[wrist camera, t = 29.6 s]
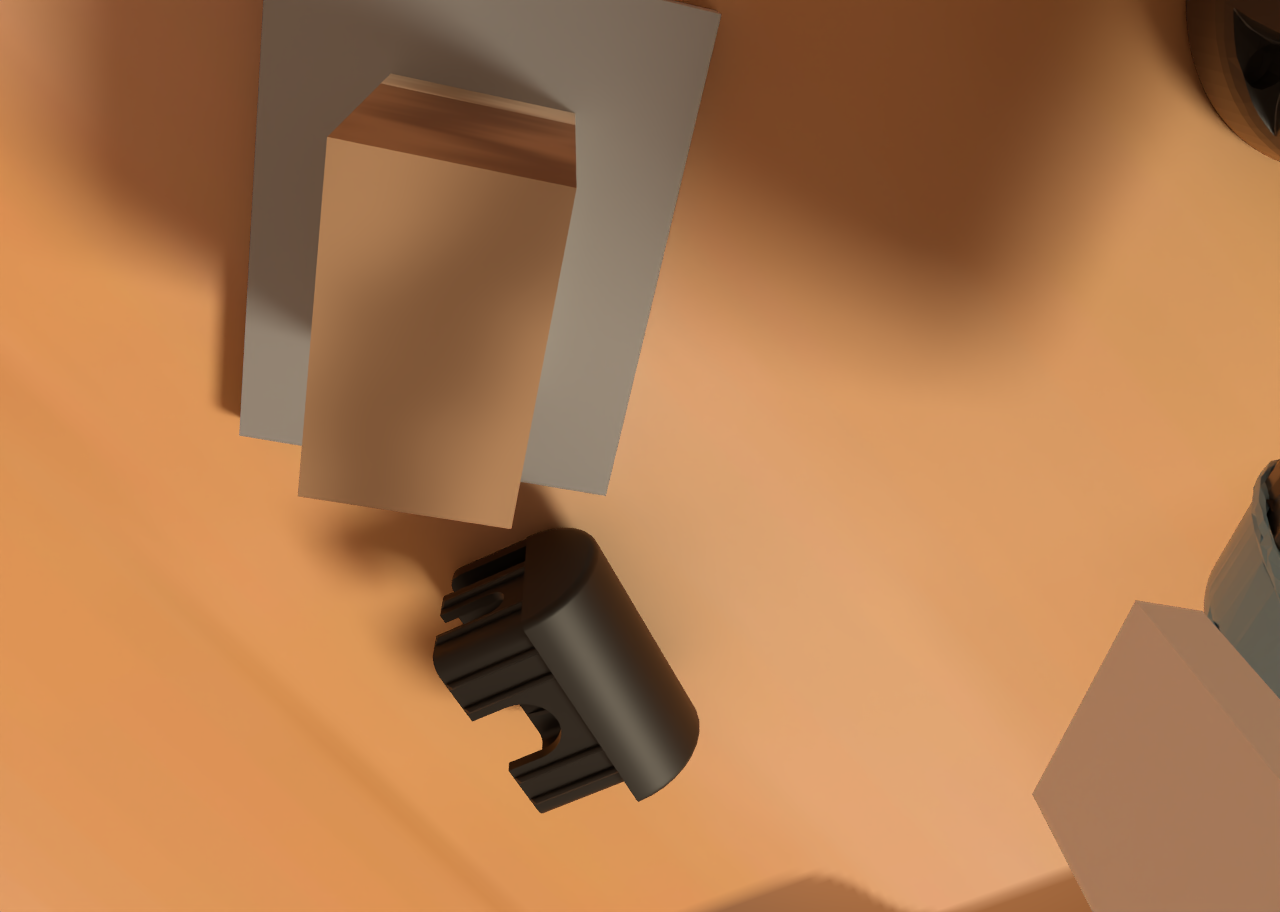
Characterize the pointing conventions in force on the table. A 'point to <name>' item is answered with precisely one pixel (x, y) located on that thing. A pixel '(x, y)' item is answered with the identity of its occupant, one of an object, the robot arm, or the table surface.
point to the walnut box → (434, 299)
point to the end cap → (566, 669)
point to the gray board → (509, 68)
